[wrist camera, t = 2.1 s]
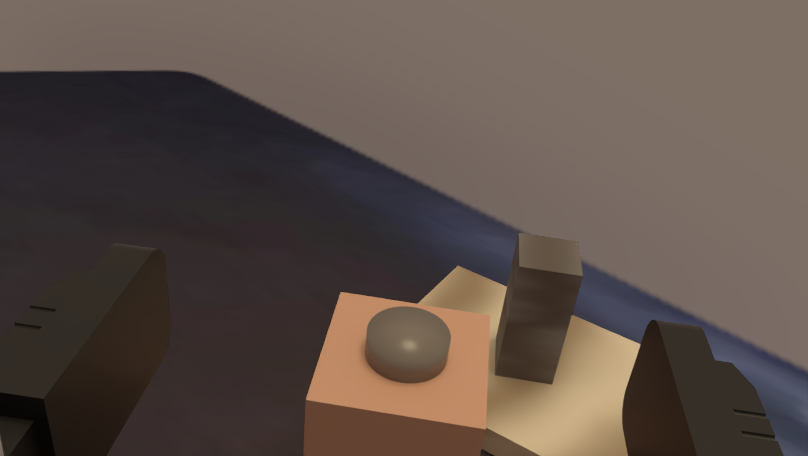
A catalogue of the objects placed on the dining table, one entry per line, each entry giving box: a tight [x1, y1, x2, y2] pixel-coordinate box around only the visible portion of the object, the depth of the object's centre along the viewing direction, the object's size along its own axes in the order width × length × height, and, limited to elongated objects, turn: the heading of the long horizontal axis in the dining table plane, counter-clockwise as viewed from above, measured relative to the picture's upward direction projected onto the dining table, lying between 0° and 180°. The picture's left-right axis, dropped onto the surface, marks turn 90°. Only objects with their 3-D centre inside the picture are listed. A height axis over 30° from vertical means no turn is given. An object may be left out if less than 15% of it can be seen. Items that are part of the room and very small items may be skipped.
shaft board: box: [418, 233, 641, 456], centre depth 39 cm, size 14×11×8 cm
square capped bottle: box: [304, 292, 490, 456], centre depth 29 cm, size 6×6×11 cm
